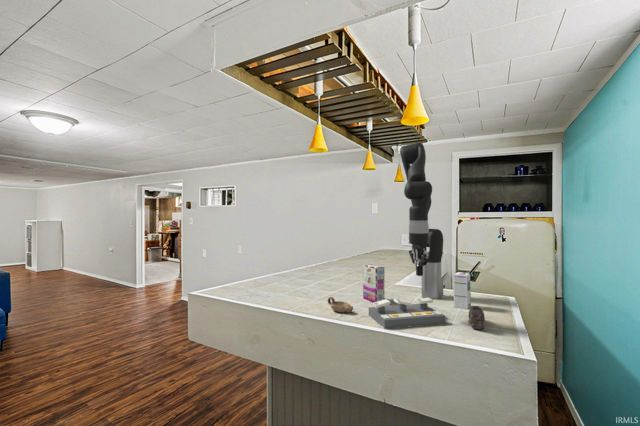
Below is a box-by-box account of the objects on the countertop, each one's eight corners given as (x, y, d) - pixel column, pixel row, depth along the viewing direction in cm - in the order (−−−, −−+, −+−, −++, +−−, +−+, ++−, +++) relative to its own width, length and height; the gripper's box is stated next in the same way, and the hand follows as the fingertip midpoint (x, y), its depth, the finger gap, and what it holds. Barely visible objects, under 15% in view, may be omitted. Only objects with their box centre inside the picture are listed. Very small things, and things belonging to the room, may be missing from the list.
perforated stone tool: (469, 318, 125) (469, 300, 125) (484, 320, 122) (484, 302, 122) (467, 331, 111) (467, 311, 111) (485, 333, 109) (484, 313, 109)
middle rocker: (407, 303, 128) (407, 300, 128) (411, 305, 125) (412, 303, 125) (393, 301, 127) (394, 298, 127) (397, 303, 124) (398, 300, 124)
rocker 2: (428, 299, 130) (428, 297, 130) (433, 302, 127) (432, 299, 127) (414, 301, 129) (414, 299, 129) (419, 304, 125) (419, 301, 125)
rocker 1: (386, 301, 126) (386, 298, 126) (390, 303, 123) (390, 301, 123) (372, 305, 125) (372, 302, 125) (376, 308, 122) (375, 305, 122)
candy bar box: (385, 302, 147) (385, 266, 147) (376, 304, 145) (375, 267, 145) (371, 297, 157) (371, 263, 157) (362, 298, 155) (362, 264, 155)
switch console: (422, 310, 134) (422, 298, 134) (445, 323, 119) (445, 309, 119) (368, 314, 129) (368, 302, 129) (384, 328, 114) (384, 314, 114)
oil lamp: (357, 312, 133) (357, 300, 133) (345, 316, 128) (345, 304, 128) (334, 306, 142) (334, 294, 143) (322, 309, 137) (322, 297, 137)
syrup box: (467, 309, 136) (467, 275, 136) (453, 306, 140) (453, 273, 140) (471, 306, 141) (470, 273, 141) (456, 303, 144) (456, 271, 144)
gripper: (436, 232, 121) (437, 278, 122) (418, 230, 134) (419, 272, 134) (418, 233, 120) (419, 279, 120) (402, 231, 133) (402, 273, 133)
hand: (419, 275), depth 127 cm, fingers closed
